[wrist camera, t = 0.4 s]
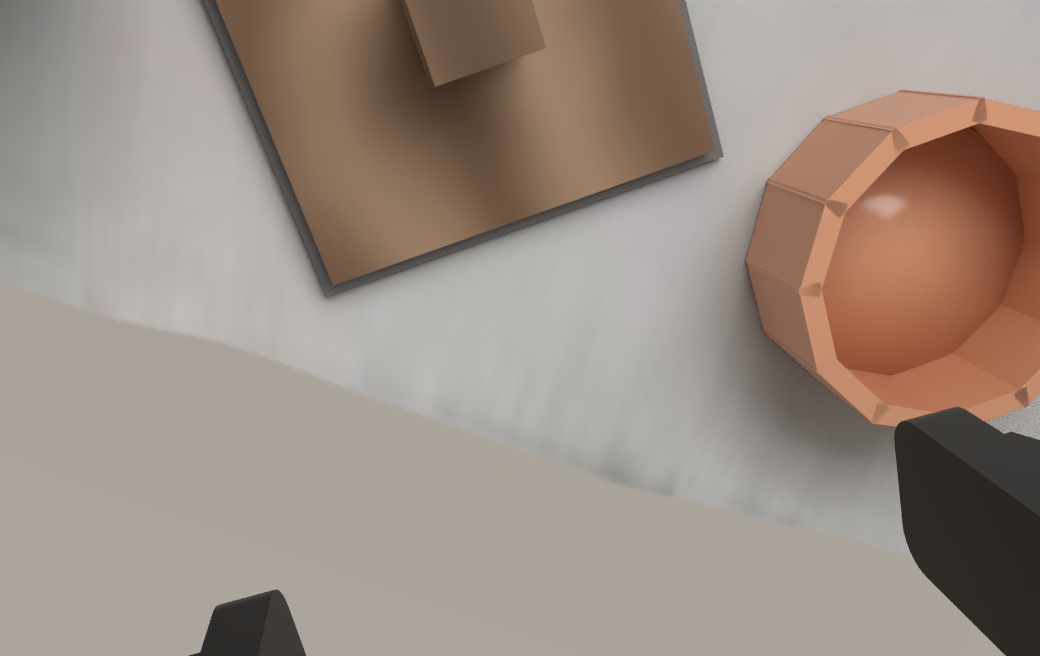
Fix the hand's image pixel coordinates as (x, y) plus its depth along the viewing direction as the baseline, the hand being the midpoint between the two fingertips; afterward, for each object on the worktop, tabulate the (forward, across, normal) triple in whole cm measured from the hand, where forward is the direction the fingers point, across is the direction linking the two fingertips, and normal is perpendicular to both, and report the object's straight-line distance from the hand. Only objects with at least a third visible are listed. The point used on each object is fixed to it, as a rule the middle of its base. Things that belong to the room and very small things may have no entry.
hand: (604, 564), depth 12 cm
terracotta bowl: (+24, -17, +5) cm, 30 cm away
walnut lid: (+24, -2, -7) cm, 25 cm away
